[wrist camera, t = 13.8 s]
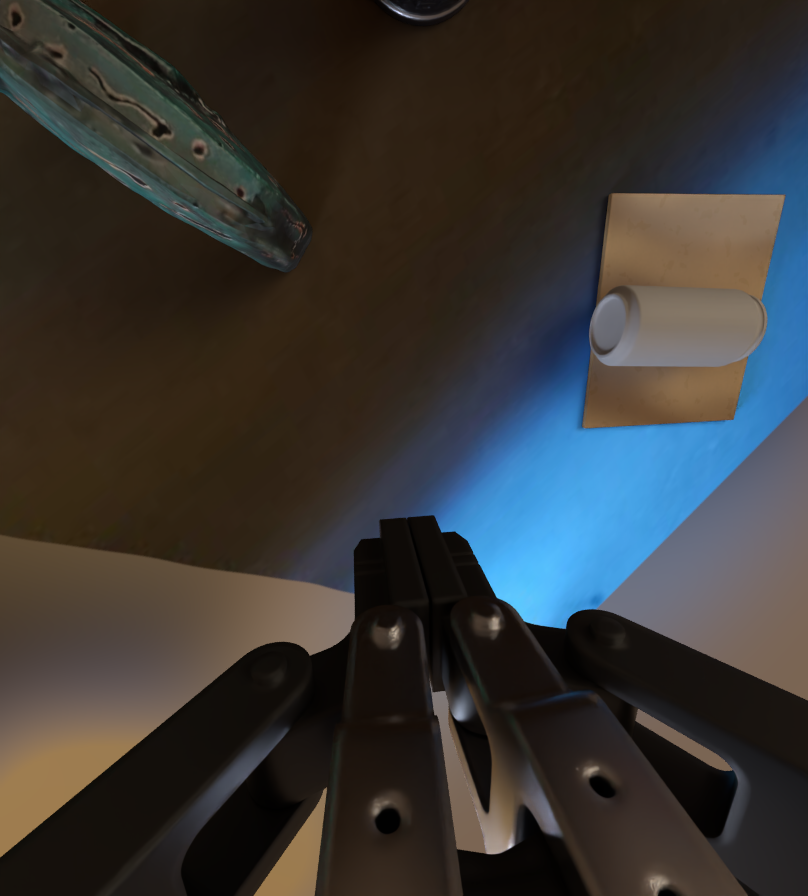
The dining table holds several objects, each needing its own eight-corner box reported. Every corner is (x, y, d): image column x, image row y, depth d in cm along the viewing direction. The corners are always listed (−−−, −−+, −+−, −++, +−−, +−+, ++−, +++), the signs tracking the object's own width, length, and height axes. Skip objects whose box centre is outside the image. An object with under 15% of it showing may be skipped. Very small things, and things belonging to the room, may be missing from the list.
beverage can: (602, 273, 34) (732, 277, 36) (576, 343, 39) (693, 345, 40) (643, 304, 30) (791, 308, 31) (608, 381, 34) (739, 381, 35)
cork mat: (608, 194, 35) (612, 193, 34) (780, 196, 36) (785, 194, 36) (581, 427, 41) (584, 428, 40) (729, 418, 43) (733, 419, 42)
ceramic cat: (31, 123, 29) (-586, -245, 10) (68, 28, 27) (-559, -609, 8) (292, 294, 34) (221, 271, 15) (333, 221, 33) (311, 96, 14)
